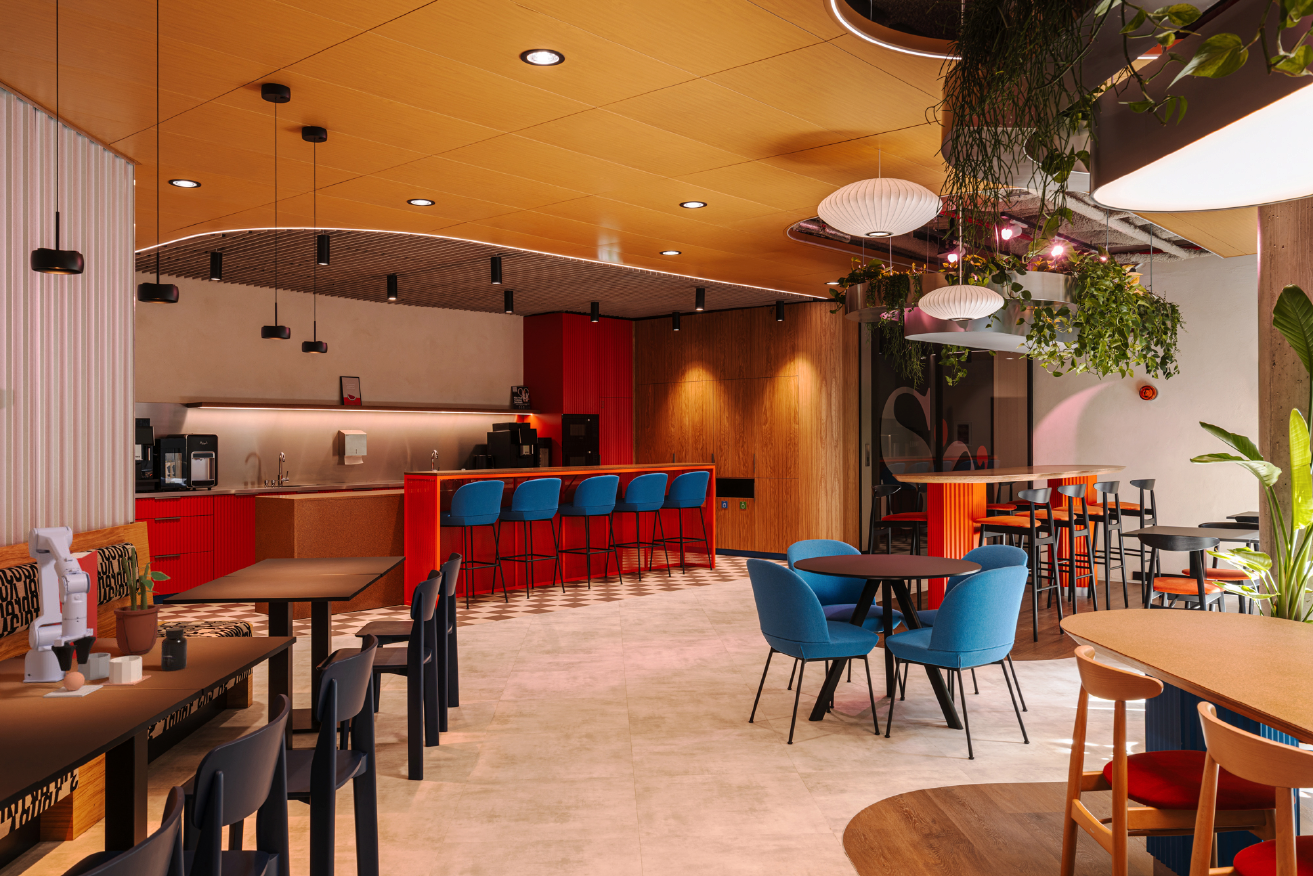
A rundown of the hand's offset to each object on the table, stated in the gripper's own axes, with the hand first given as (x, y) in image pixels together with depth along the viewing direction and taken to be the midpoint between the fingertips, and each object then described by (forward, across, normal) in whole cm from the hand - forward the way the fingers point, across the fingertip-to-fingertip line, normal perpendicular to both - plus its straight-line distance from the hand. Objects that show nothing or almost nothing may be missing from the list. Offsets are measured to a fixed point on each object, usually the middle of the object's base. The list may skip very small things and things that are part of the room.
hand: (74, 667), depth 241 cm
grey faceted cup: (+7, +17, +4) cm, 19 cm away
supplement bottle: (+7, +25, -15) cm, 30 cm away
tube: (+7, +11, -8) cm, 15 cm away
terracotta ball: (+4, 0, 0) cm, 4 cm away
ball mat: (+7, 0, 0) cm, 7 cm away
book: (+7, +53, +30) cm, 61 cm away
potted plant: (+7, +49, +8) cm, 50 cm away
